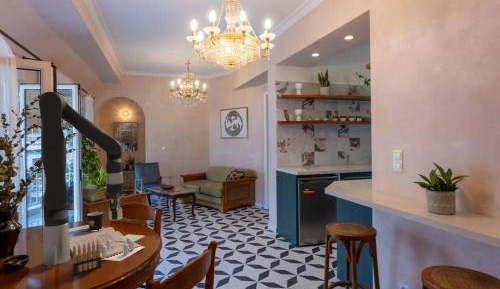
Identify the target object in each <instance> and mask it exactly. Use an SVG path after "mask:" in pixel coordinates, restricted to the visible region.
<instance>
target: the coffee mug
mask: <svg viewBox="0 0 500 289" xmlns="http://www.w3.org/2000/svg"><path fill="white" fill-rule="evenodd" d="M85 217H86V218H87V221H88V222H87V221H85ZM103 217H104V212H103V211H95V212H91V213H90V212H89V213H87V214H86V215H84V216H83V218H82V220H83V222H84V224H87V225H88V227H89V228H88V229H89V231H90V230H99V229H101V228H102V229H103V220H104V218H103Z"/></svg>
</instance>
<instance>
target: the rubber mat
mask: <svg viewBox="0 0 500 289" xmlns="http://www.w3.org/2000/svg"><path fill="white" fill-rule="evenodd" d="M121 238H123V239H124V240H125V241H126V239H127V238H131V240H134V243H135V242H137V241H138V240H141V239H144V238H146V235H141V234H137V235H136V234H126V235H124V236H122V237H121Z"/></svg>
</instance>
